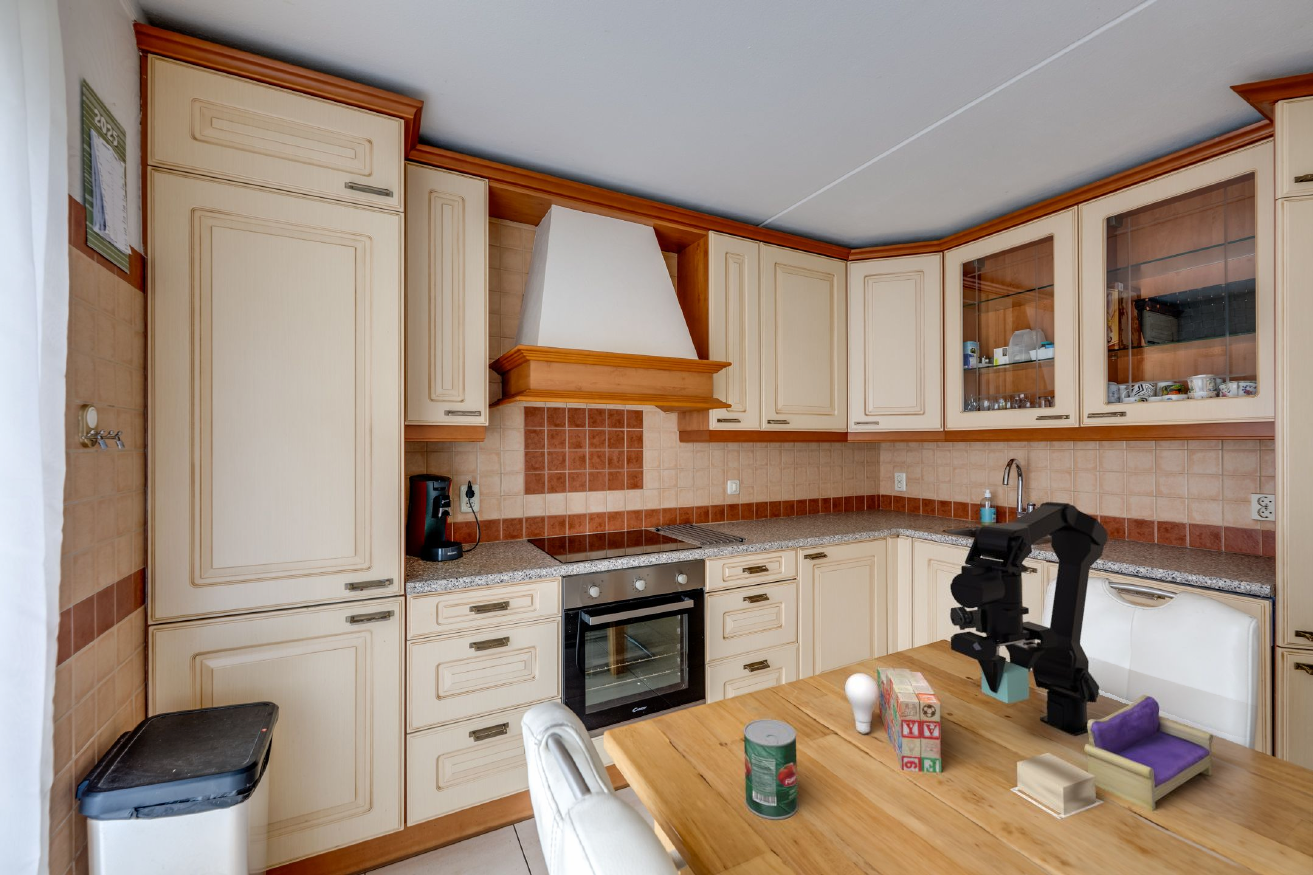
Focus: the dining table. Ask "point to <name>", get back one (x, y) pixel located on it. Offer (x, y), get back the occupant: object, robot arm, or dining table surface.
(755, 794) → the canned tomato
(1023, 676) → the teal block
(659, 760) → the dining table surface
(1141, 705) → the toy sofa
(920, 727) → the stack of blocks
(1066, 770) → the block
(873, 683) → the lightbulb
